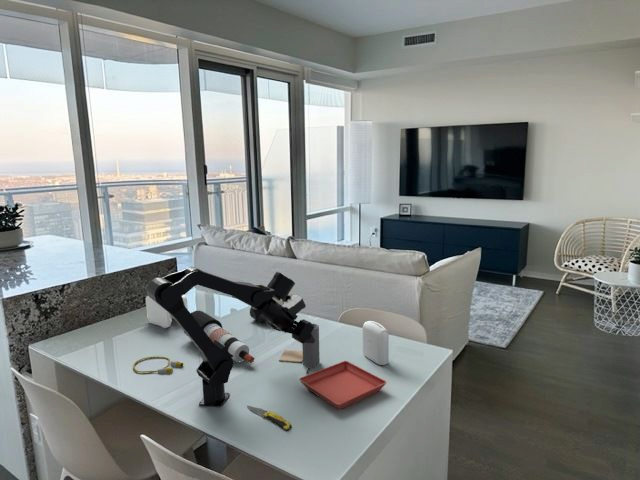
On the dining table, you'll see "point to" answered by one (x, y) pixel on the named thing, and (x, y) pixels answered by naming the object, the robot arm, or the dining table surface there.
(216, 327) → the cable
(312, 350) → the octagonal tapered tumbler
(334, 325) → the dining table surface
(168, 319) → the cable organizer
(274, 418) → the utility knife
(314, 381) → the plant saucer
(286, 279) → the robot arm
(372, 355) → the photo printer
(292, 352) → the tan pad
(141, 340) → the dining table surface
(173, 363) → the extension cord
